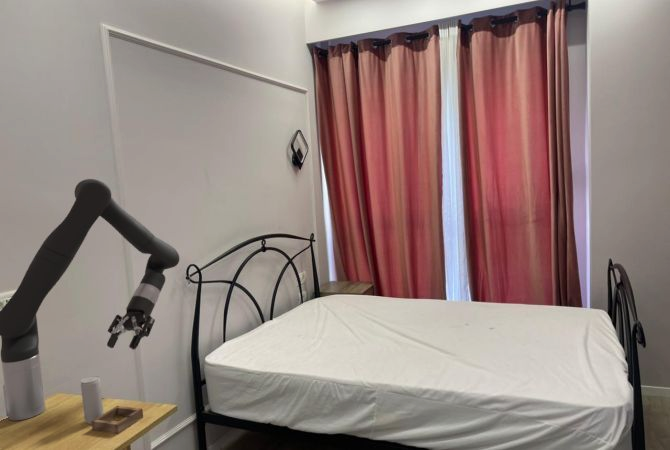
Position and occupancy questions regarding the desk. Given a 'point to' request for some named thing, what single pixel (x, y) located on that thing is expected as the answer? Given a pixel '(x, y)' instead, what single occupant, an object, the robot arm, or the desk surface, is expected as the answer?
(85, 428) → the desk surface
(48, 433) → the desk surface
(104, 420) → the collar
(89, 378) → the beverage can
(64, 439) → the desk surface
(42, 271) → the robot arm
